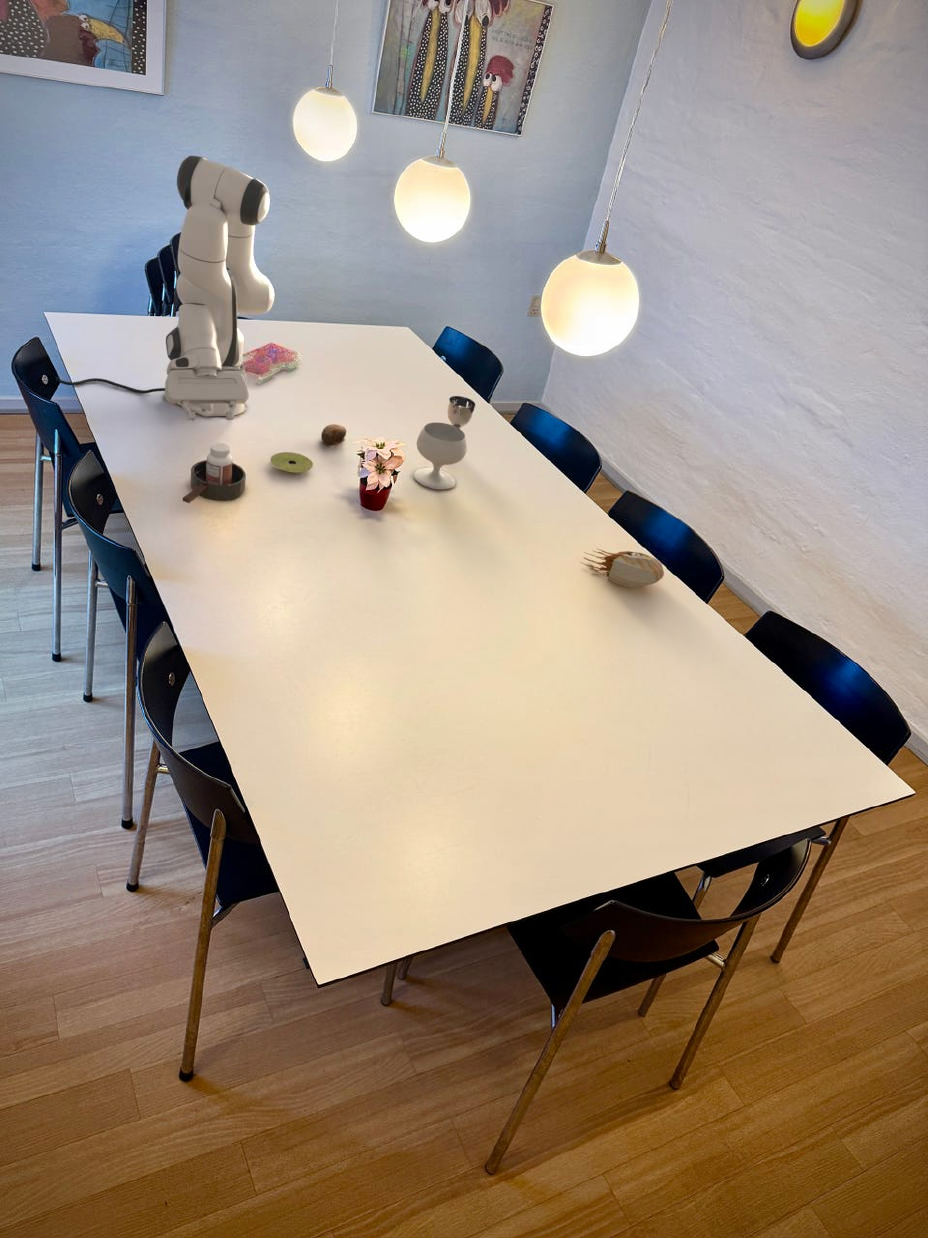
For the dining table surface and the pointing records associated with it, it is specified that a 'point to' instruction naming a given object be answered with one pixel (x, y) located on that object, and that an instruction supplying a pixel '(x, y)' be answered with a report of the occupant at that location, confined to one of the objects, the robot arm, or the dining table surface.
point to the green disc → (291, 462)
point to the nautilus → (630, 568)
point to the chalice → (439, 453)
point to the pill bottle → (219, 464)
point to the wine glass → (460, 410)
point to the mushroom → (333, 434)
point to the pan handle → (195, 493)
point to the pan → (217, 490)
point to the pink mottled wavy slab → (270, 360)
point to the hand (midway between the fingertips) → (211, 419)
